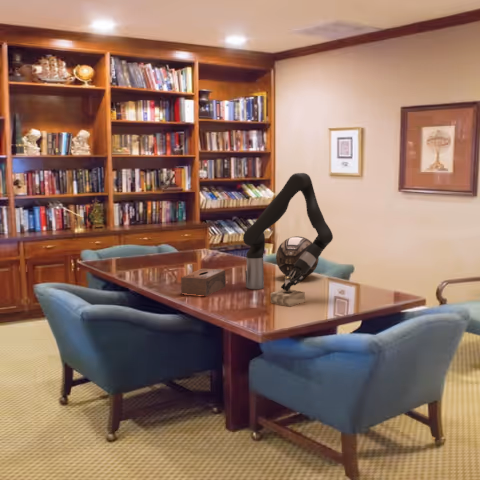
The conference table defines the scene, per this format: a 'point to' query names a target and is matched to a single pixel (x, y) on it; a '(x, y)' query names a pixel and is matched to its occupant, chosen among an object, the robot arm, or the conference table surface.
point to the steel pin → (287, 279)
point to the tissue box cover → (203, 281)
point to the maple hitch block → (287, 297)
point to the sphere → (293, 254)
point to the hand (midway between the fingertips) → (284, 289)
